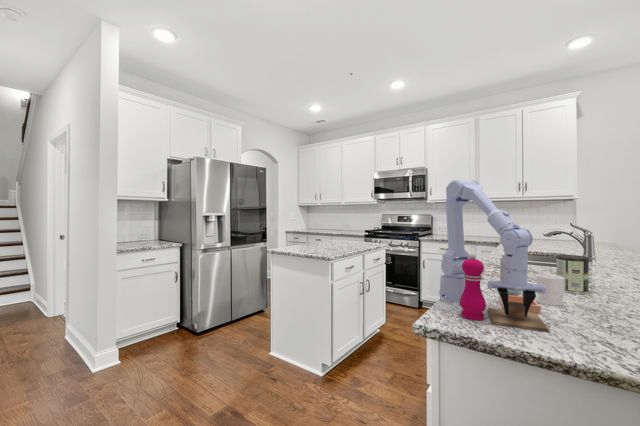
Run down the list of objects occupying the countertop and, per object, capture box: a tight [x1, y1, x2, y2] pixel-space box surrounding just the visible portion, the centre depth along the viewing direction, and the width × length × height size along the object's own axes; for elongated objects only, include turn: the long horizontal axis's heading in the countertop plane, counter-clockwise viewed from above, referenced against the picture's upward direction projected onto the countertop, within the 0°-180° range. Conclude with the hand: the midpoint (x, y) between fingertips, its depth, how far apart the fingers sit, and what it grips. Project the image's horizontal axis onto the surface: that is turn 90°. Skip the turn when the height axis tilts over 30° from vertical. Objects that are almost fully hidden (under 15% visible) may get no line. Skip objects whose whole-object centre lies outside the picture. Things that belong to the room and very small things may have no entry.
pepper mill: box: [459, 253, 487, 321], centre depth 92 cm, size 7×7×20 cm
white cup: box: [536, 273, 565, 307], centre depth 105 cm, size 8×8×10 cm
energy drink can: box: [499, 254, 519, 296], centre depth 118 cm, size 6×6×15 cm
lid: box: [488, 301, 549, 333], centre depth 89 cm, size 13×13×5 cm
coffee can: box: [555, 254, 590, 295], centre depth 122 cm, size 10×10×14 cm
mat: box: [486, 308, 552, 334], centre depth 89 cm, size 14×14×1 cm
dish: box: [498, 293, 541, 315], centre depth 100 cm, size 10×10×3 cm
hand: (515, 314), depth 89 cm, fingers closed on lid, 4 cm apart
